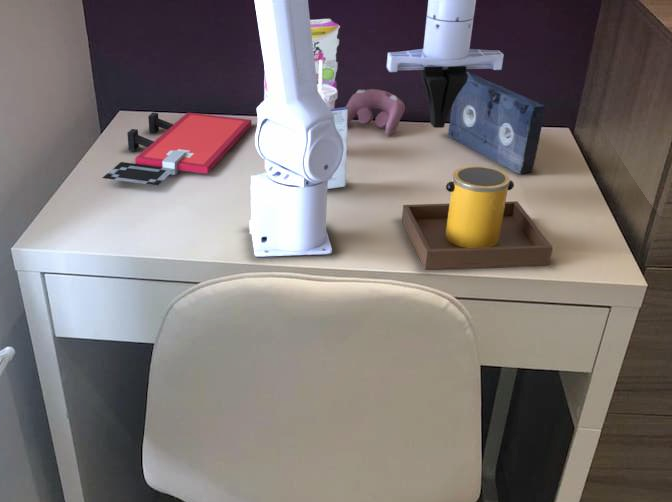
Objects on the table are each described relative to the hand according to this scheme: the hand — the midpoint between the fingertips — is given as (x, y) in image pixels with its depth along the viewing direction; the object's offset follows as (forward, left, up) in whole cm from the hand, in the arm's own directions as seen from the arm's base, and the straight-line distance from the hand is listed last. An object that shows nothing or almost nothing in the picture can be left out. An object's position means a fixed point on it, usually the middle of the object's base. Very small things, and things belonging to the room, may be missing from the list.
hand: (437, 125), depth 111 cm
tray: (+2, -15, -10) cm, 18 cm away
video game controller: (-3, +28, -10) cm, 30 cm away
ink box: (-17, +3, -10) cm, 20 cm away
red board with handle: (-35, +18, -10) cm, 41 cm away
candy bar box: (-15, +29, -10) cm, 34 cm away
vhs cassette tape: (+13, +15, -10) cm, 22 cm away
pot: (+2, -15, -5) cm, 16 cm away
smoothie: (-14, +17, -10) cm, 24 cm away
